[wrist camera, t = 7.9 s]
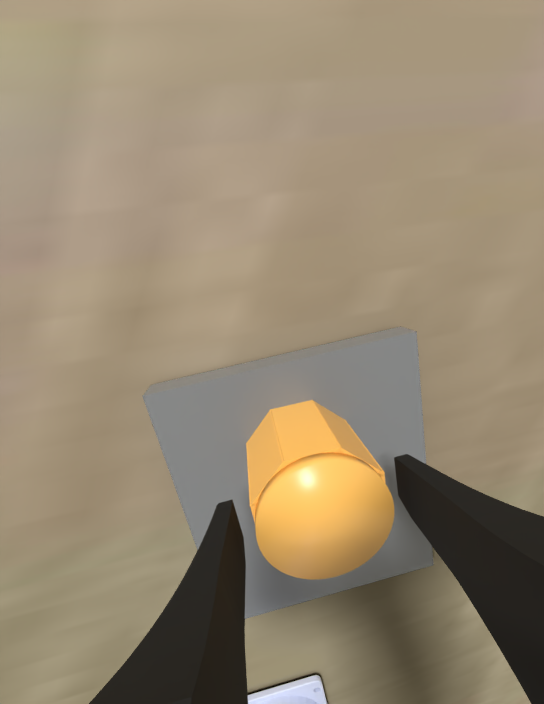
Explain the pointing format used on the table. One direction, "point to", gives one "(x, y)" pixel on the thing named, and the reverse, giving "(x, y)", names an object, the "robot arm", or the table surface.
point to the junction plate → (282, 390)
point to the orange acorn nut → (315, 493)
